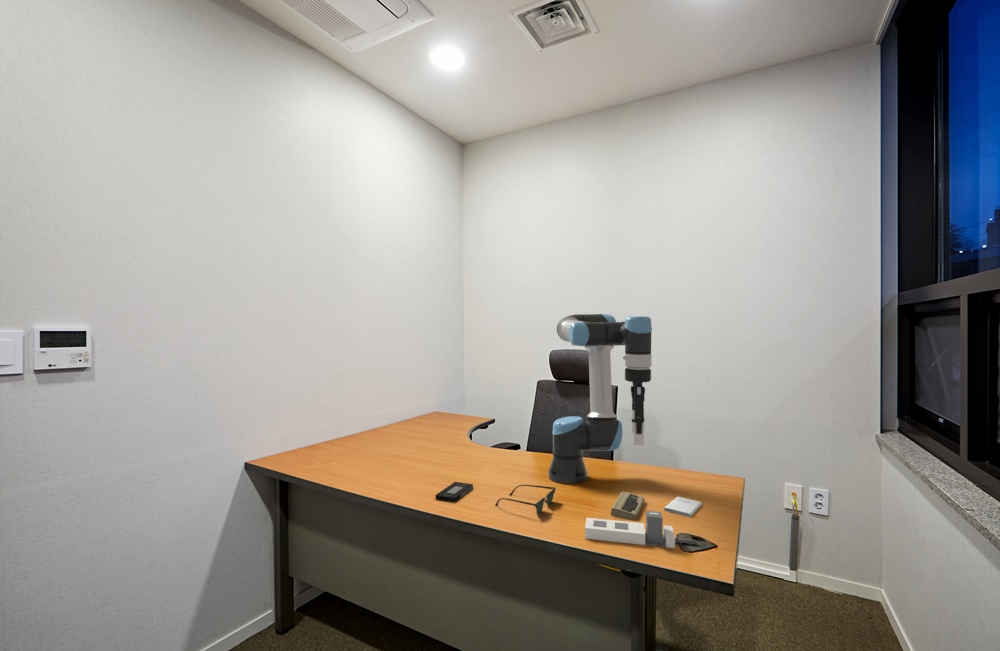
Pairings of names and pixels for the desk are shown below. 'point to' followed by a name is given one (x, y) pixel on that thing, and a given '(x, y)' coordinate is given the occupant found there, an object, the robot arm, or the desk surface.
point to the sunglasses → (539, 504)
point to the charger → (654, 527)
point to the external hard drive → (683, 506)
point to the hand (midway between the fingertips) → (637, 438)
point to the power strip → (628, 533)
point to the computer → (627, 506)
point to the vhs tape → (454, 492)
